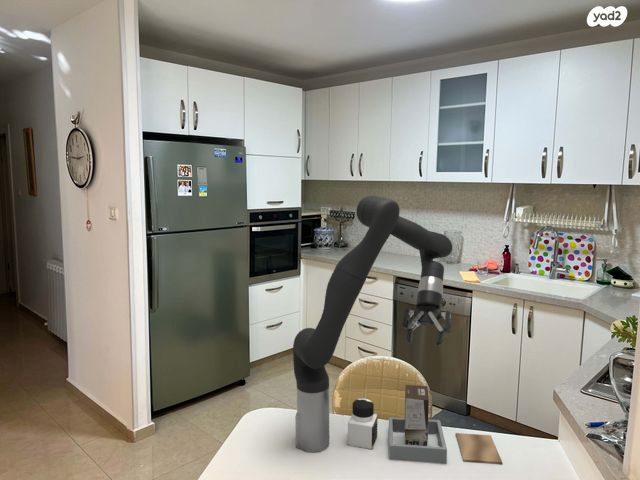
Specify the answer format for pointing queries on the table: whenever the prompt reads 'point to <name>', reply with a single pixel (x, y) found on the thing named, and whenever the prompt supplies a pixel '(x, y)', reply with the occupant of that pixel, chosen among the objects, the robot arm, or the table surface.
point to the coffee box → (416, 415)
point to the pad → (478, 448)
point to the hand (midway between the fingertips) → (424, 343)
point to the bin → (416, 451)
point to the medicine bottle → (362, 424)
